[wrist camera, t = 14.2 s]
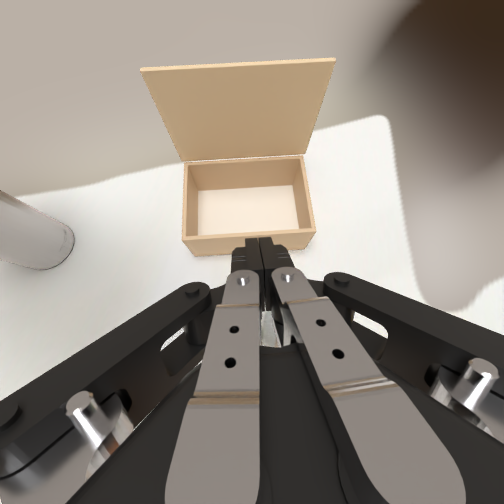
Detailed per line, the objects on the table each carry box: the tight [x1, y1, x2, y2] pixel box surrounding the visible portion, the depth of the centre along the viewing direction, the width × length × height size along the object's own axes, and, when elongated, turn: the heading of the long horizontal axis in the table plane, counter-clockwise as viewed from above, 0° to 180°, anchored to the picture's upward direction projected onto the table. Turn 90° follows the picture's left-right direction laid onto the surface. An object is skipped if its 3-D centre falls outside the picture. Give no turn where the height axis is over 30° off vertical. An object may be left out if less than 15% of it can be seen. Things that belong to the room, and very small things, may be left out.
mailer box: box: [182, 155, 316, 256], centre depth 39 cm, size 20×14×8 cm
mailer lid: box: [140, 58, 336, 161], centre depth 30 cm, size 21×14×1 cm
